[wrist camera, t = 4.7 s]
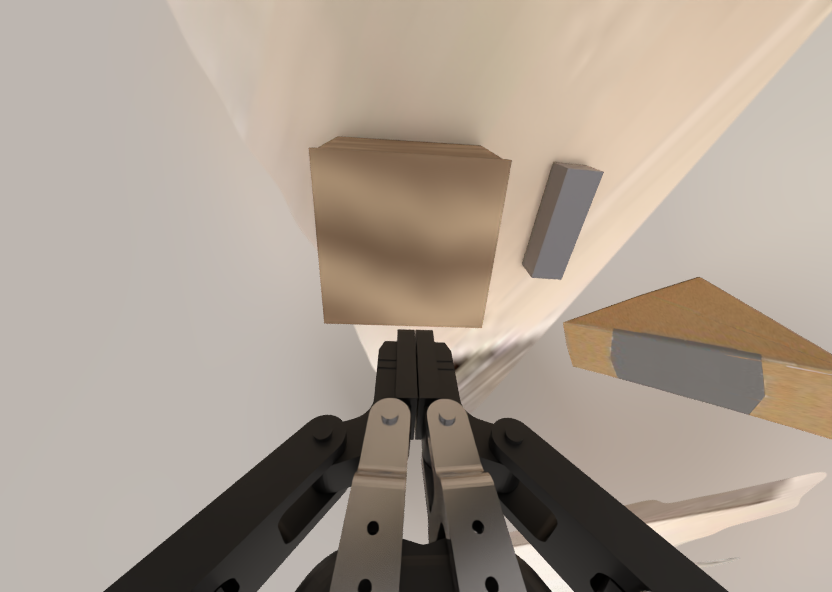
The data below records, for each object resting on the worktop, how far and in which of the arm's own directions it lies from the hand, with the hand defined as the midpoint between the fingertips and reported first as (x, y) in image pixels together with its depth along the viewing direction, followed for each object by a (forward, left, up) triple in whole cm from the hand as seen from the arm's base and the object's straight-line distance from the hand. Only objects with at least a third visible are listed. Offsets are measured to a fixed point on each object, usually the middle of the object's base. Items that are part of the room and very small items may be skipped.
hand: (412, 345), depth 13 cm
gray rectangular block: (0, +14, -19) cm, 24 cm away
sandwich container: (+13, +28, -19) cm, 36 cm away
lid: (0, 0, -11) cm, 11 cm away
